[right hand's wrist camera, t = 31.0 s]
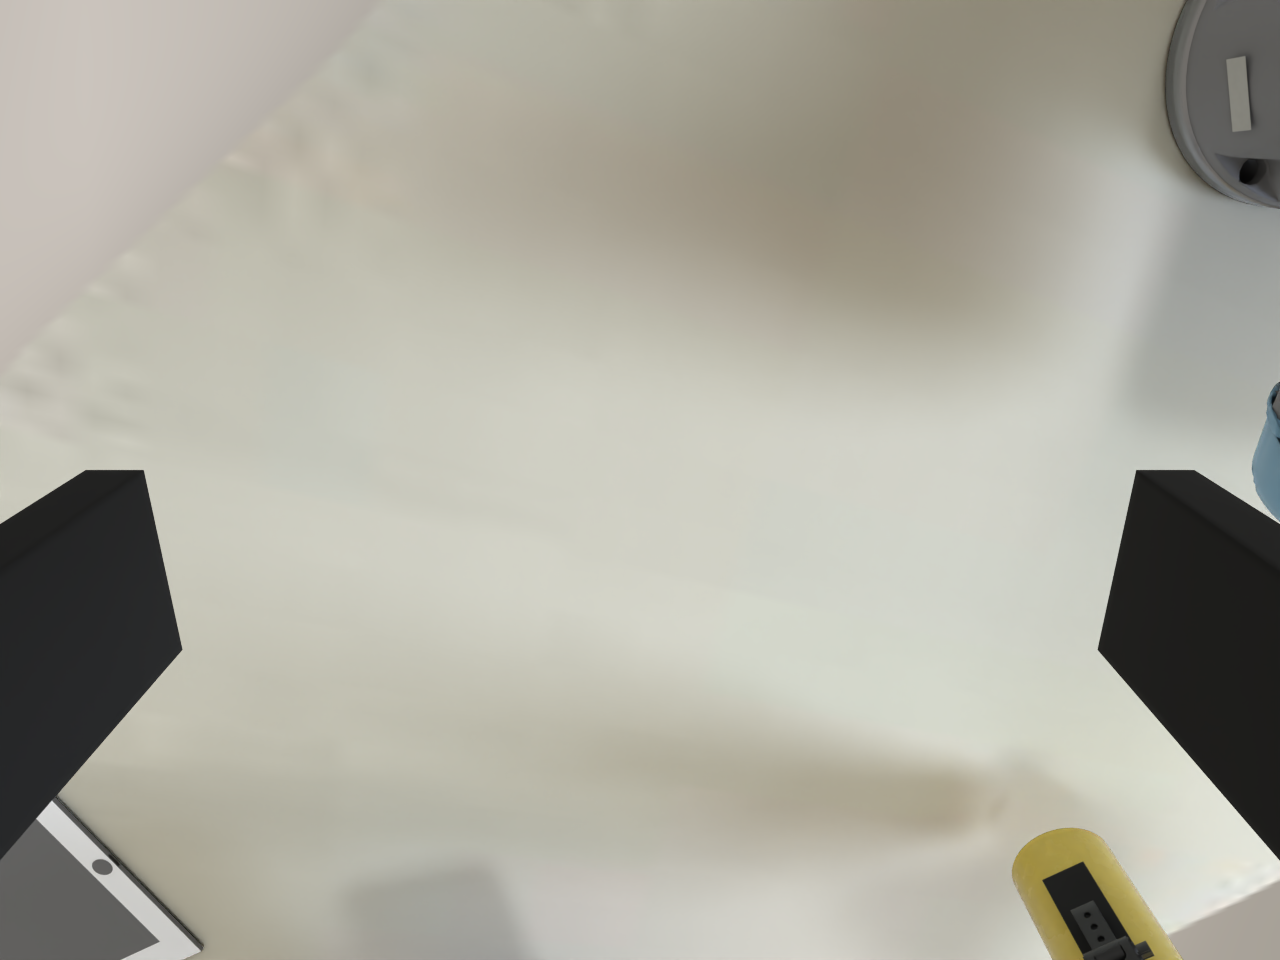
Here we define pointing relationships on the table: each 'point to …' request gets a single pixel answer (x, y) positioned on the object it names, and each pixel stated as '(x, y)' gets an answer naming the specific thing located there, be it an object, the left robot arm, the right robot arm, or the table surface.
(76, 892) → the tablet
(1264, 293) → the table surface
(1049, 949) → the canister
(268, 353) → the table surface
